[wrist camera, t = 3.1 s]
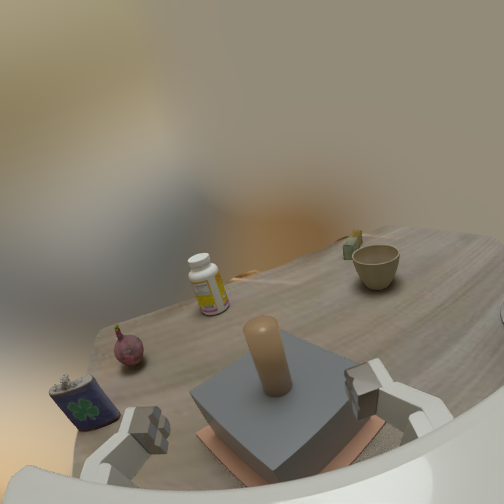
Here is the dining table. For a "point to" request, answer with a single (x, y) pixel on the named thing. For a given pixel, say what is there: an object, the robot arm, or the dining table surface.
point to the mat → (254, 479)
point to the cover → (281, 404)
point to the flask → (84, 403)
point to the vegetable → (128, 348)
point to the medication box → (352, 244)
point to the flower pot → (376, 265)
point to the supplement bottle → (207, 285)
